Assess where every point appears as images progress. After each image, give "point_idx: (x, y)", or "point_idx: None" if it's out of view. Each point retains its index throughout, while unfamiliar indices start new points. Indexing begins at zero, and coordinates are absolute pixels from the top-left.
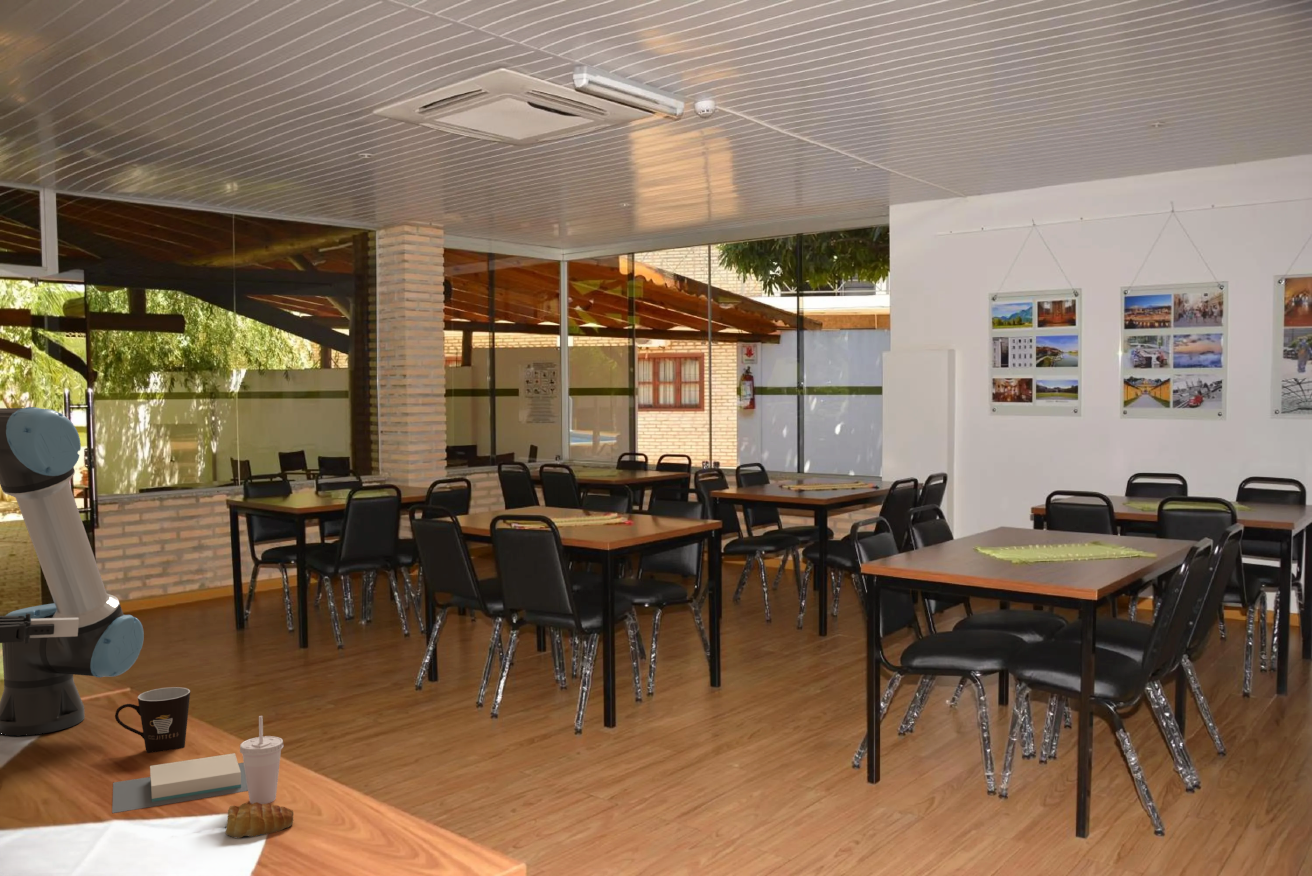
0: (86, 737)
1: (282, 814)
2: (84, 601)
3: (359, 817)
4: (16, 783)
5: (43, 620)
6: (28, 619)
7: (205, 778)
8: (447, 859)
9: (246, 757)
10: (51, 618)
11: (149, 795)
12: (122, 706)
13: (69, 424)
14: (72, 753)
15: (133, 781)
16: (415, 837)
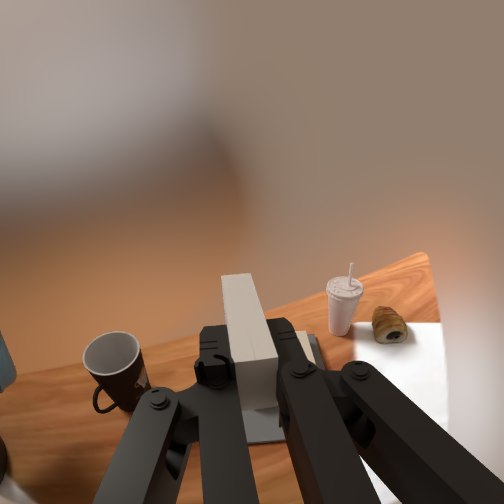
0: (41, 446)
1: (390, 308)
2: None
3: (373, 286)
4: None
5: (268, 328)
6: (229, 372)
7: (311, 353)
8: (423, 263)
9: (357, 300)
10: (230, 315)
11: None
12: (95, 396)
13: None
14: (83, 470)
15: (244, 424)
16: (401, 270)
